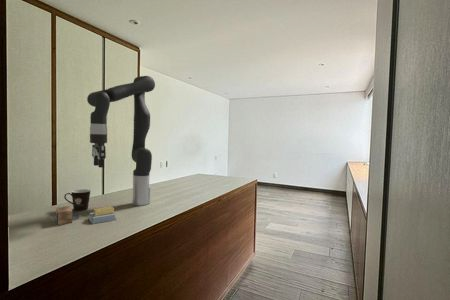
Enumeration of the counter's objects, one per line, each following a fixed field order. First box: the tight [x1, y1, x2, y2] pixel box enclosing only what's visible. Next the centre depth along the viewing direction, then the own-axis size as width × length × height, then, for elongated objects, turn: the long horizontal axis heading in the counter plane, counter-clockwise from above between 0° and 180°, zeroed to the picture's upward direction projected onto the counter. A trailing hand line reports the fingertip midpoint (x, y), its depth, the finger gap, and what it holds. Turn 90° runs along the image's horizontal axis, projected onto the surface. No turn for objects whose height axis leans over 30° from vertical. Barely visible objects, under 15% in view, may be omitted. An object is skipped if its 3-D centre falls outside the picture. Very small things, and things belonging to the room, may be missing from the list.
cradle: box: [88, 212, 117, 225], centre depth 114 cm, size 10×8×3 cm
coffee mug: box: [63, 188, 91, 212], centre depth 127 cm, size 12×9×10 cm
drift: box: [53, 211, 80, 225], centre depth 110 cm, size 9×3×3 cm, turn 148°
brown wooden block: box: [55, 205, 73, 226], centre depth 109 cm, size 5×8×6 cm, turn 41°
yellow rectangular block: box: [92, 205, 115, 217], centre depth 114 cm, size 8×4×4 cm, turn 133°
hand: (98, 166), depth 118 cm, fingers open, 8 cm apart
